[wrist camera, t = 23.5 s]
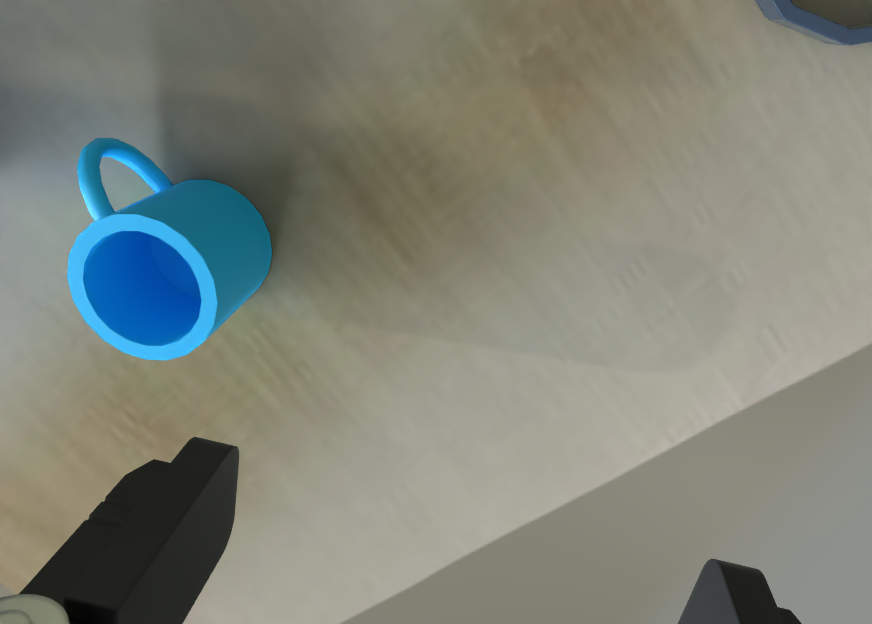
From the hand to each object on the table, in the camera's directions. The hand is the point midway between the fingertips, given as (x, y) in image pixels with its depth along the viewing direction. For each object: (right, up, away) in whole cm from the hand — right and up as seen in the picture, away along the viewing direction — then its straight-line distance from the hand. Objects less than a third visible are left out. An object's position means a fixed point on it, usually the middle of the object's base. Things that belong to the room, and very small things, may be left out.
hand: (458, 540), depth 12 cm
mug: (-15, +10, +31) cm, 36 cm away
